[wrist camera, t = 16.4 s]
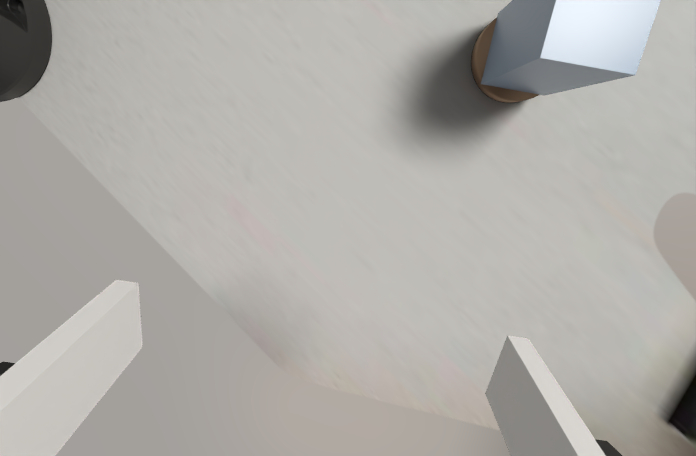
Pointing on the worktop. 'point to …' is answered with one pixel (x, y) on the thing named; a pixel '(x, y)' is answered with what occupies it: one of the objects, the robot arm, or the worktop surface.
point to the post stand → (478, 68)
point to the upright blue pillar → (567, 43)
